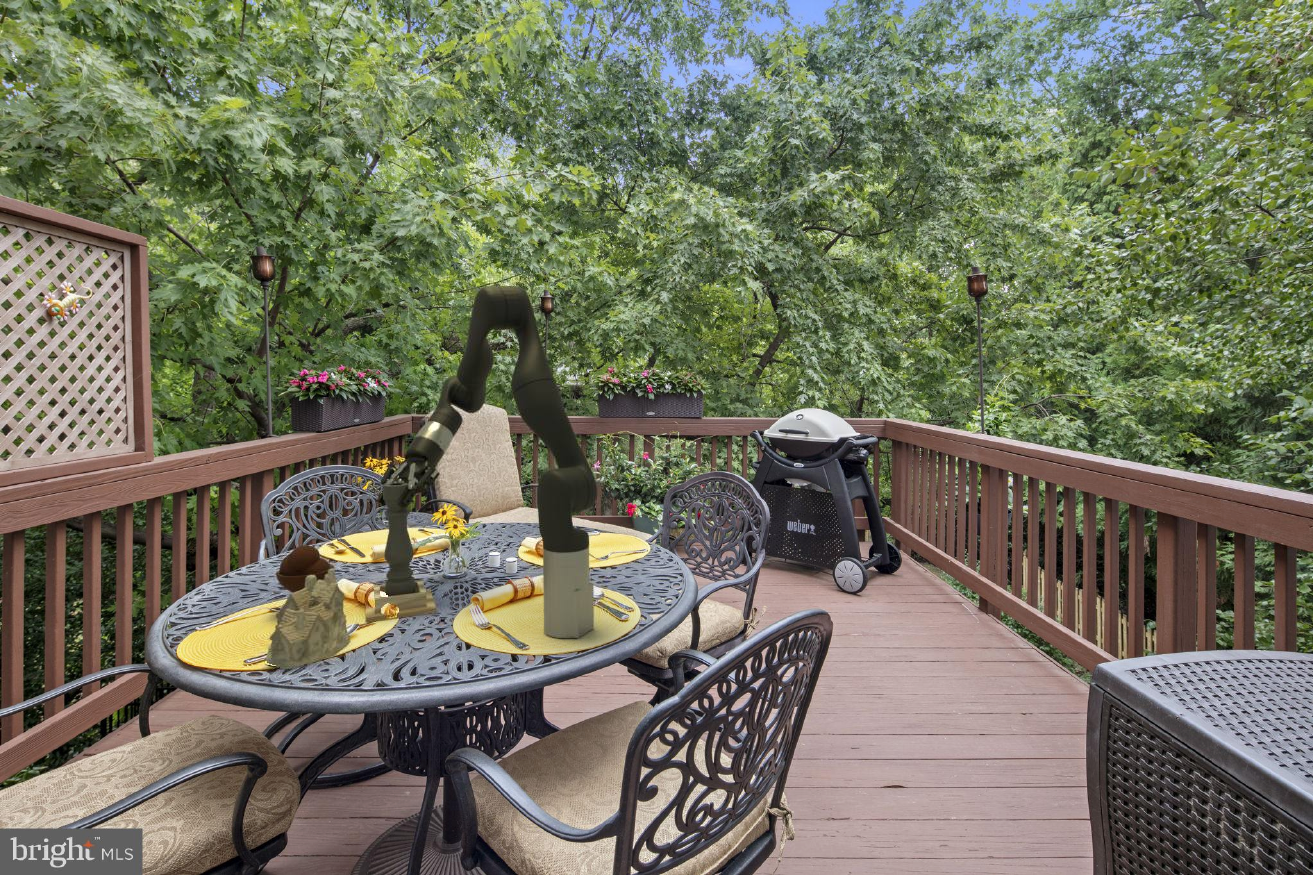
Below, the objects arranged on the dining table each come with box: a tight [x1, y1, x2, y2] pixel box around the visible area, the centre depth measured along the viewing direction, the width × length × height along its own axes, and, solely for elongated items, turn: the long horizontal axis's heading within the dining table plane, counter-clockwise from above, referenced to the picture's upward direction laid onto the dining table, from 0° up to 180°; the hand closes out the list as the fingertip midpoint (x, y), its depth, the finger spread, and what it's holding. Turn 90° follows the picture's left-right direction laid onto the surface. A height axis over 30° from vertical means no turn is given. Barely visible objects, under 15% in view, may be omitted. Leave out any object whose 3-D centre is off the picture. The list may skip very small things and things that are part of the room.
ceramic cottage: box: [264, 568, 351, 670], centre depth 121 cm, size 16×16×15 cm
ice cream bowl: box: [275, 544, 335, 594], centre depth 140 cm, size 11×11×15 cm
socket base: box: [365, 579, 437, 623], centre depth 144 cm, size 14×14×4 cm
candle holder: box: [382, 481, 416, 596], centre depth 143 cm, size 6×6×25 cm
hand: (390, 504), depth 140 cm, fingers closed on candle holder, 5 cm apart
